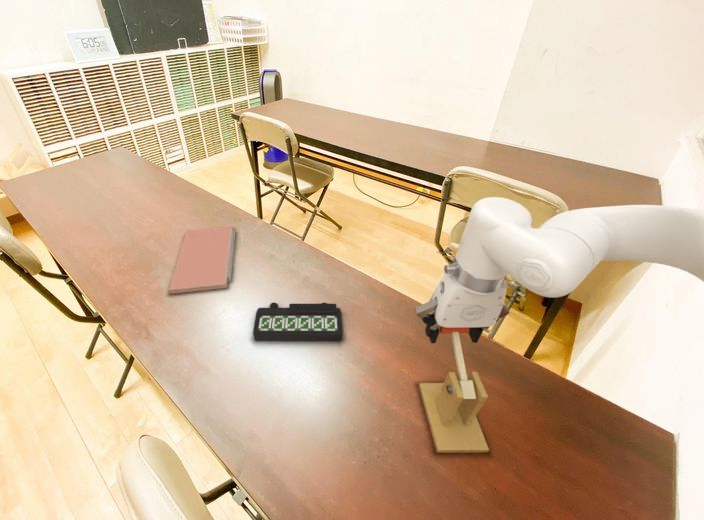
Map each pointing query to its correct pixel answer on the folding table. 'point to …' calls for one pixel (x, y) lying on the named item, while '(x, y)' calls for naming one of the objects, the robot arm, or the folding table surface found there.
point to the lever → (460, 361)
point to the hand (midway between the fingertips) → (451, 336)
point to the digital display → (298, 323)
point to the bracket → (454, 415)
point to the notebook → (204, 260)
